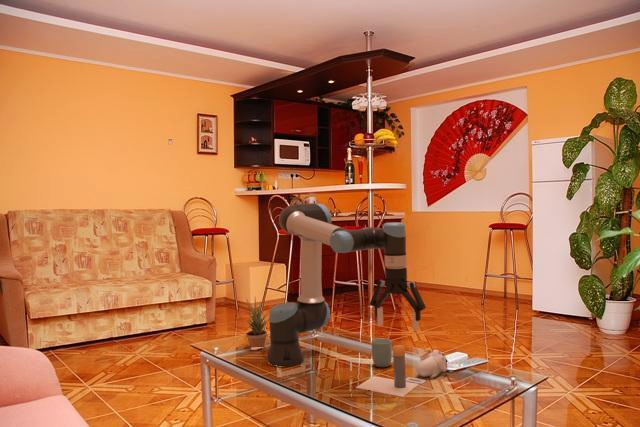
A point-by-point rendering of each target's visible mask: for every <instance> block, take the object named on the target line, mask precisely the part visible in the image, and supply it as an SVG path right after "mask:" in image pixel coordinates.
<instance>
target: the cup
mask: <svg viewBox="0 0 640 427" xmlns="http://www.w3.org/2000/svg"><path fill="white" fill-rule="evenodd" d="M371 357H372V362H373V365H374V366H375V367H378V368H387V367H389V366H390V365H391V363H392V360H393V358H392V357H393V344H392V339H390V338H383V337H382V338H381V337H378V338H374V339H371Z"/></svg>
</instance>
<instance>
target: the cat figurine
mask: <svg viewBox="0 0 640 427" xmlns="http://www.w3.org/2000/svg"><path fill="white" fill-rule="evenodd" d="M419 357H420V360H419V361H417V364H416V366H415V371H416V373H417V374H418V375H419V376H421V377H424V378H427V377H429V378H430V379H434V378H436V377H437V376H438V375H439V374H441V373H442V372H443V373H445V372H447V370H448V364H447V362H448V363H449V360H448V359H447V357H446V356H445V353H444V352H443V351H440V350H438V349H433V351H430V350H425V351H424V352H422V354H421V353H420V355H419Z"/></svg>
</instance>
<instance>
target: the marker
mask: <svg viewBox="0 0 640 427" xmlns="http://www.w3.org/2000/svg"><path fill="white" fill-rule="evenodd" d="M392 357H393V358H392V360H393V380H394V386H395V387H396V388H404V387H406V378H407V376H406V346H405V345H404V344H392Z"/></svg>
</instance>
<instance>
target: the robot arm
mask: <svg viewBox="0 0 640 427" xmlns="http://www.w3.org/2000/svg"><path fill="white" fill-rule="evenodd" d="M278 216H279V218H278V224H279V226H280V228H281V229H282V230H283V231H284V232H285V233H287V234H290V235H293V236H298V237H299V239H300V240H301V254H300V255H301V257H300V258H301V260H300V262H301V264H300V267H301V269H300V274H301V275H300V296H299V295H298V296H299V297H297V302H291V301H290V302H283V303H278V304H276V305H274V306H272V307H271V308H270V310H269V316H268V321H269V335H270V336H269V338H270V345H269V348H268V352H267V356H266V362H267V361H268V362H269V363H270V364H272V365H277V366H290V367H294V365H295V366H298V365H301V364H302V363H304V361H305V356H304V353H303V351H302V347H301V345H300V340H299V334H303V333H307V332H311V331H319V329H323V328H324V327H326V326H327V325H328V323H329V321H330V318H331V310H330V306H329V304H328V303H327V302H326V299H325V297H324V296H323V295H322V267H323V266H322V263H323V262H322V259H323V258H322V254H323V252H322V251H323V247H322V246H323V245H324V244H325V245H327V246H330V248H331V249H332V250H333V252H334V253H337V254H340V253H341V254H342V253H343V254H347V253H351V252H352V253H353V252H360V251H366V250H367V251H368V250H375V249H376V250H377V249H378V250H383V251H384V255H383V256H384V266H385V269H384V276H385V280H384V279H378V280H377V282H376V288H375V290H374V292H373V294H372V298H371V300H370V302H369V305H370V306H372V307H374V310H375V311H374V314H375V317H377V327H382V326H384V311H383V309H384V307H383V306H382V305H383V303H384V302H385V301H386V299H388V296H390V294H391V295H397V296H398V295H401V296H402V297H404V299H405V300H406V301H407V302H408V304H409V305H410V306H411V308H412V309H413V310H414V311H412V326H413V328H412V330H413V332H415V331H418V330H419V329H420V326H419V321H421V319H422V318H421V316H422V315H421V311H424V310H425V309H427V307H426V305H425V302H424V300H423V298H422V296H421V295H420V292H419V290H418V288H417V283H416V282H417V281H412V282H408V269H407V267H406V266H407V265H408V264H407V233H406V225H405V223H403V222H385V223H384V224H383V227H382V228H381V227H374V226H372V227H371V226H370V227H368V226H367V227H363V228H358V229H348V228H343V227H341V226H338V225H336V224H332V219H333V218H332V214H331V211H330V210H329V208H328V207H327V206H326V205H324V204H323V203H315V202H311V203H299V204H291V205H288V206H286V207H285V208H283V209H282V210H281V212H280V214H279V215H278ZM384 286H385V287H386V289H385V291H384V292H383V293H382V290H383V287H384ZM408 288H409V289H410V290H408ZM410 292H411V293H412V294H410ZM381 293H382V295H381ZM380 295H381V296H380ZM379 297H380V298H379Z"/></svg>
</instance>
